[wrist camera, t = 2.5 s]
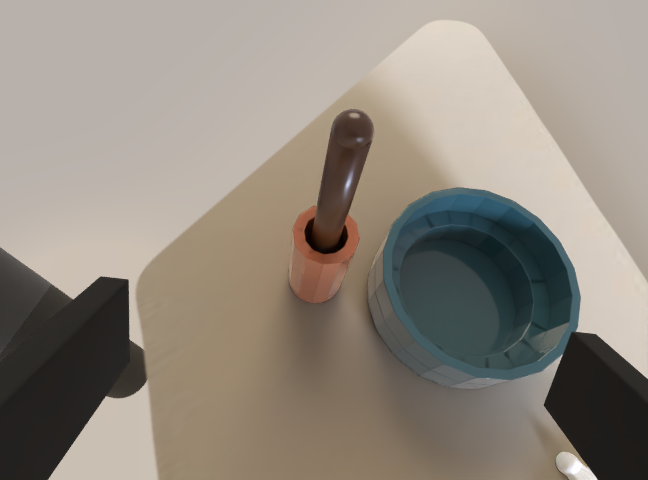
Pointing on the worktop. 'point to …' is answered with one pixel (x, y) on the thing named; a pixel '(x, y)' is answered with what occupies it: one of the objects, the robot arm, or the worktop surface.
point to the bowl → (472, 290)
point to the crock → (319, 260)
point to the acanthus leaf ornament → (573, 467)
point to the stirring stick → (340, 177)
